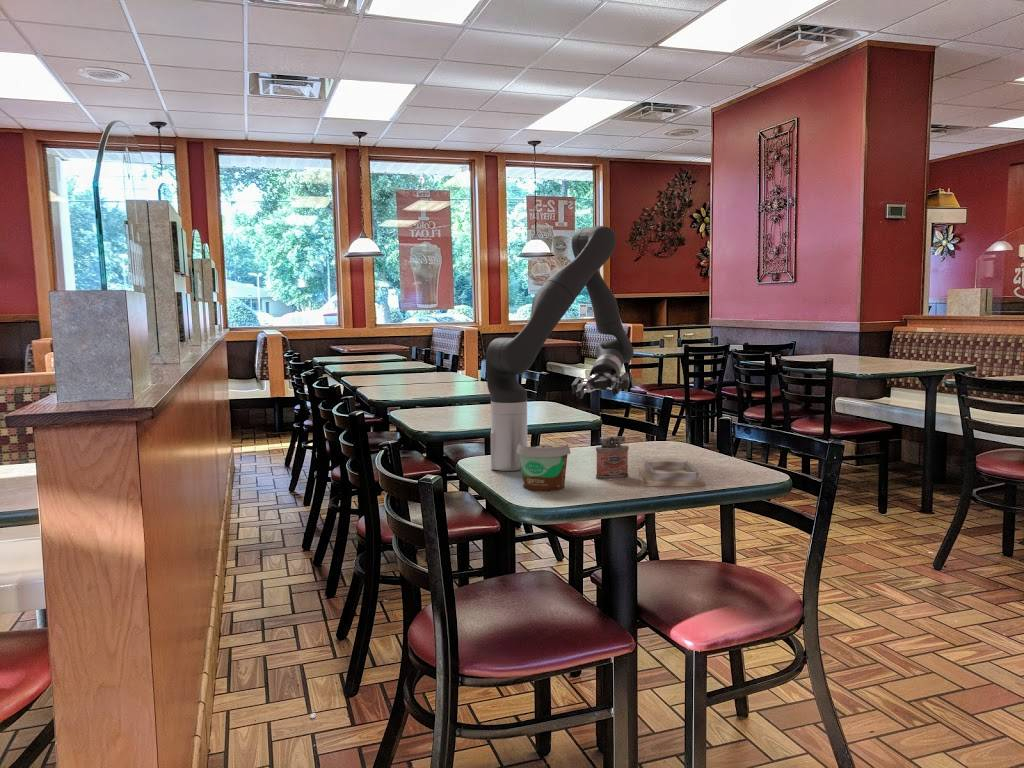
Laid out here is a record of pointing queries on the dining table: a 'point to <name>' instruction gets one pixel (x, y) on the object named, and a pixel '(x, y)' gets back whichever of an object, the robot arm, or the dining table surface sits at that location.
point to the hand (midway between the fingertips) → (596, 393)
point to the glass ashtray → (670, 474)
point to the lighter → (612, 459)
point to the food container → (543, 467)
